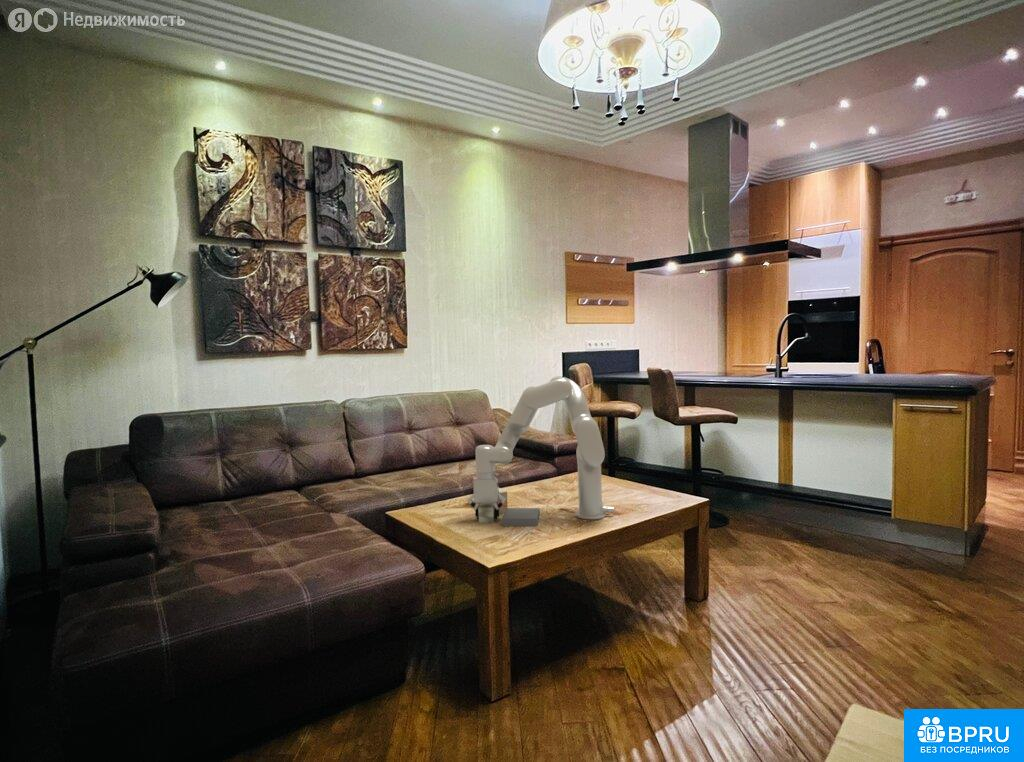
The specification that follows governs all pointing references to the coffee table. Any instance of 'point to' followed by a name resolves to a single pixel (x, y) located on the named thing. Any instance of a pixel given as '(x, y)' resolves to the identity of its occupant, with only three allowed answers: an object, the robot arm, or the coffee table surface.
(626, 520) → the coffee table surface
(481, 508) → the sage cube
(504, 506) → the stack of blocks
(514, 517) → the plinth
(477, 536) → the coffee table surface
